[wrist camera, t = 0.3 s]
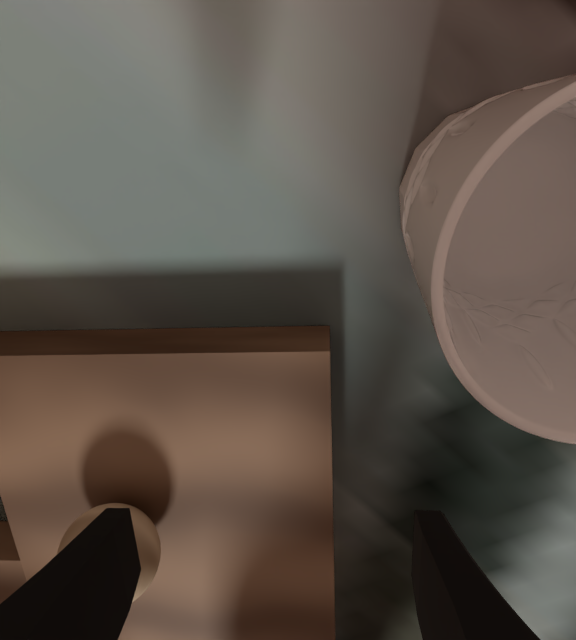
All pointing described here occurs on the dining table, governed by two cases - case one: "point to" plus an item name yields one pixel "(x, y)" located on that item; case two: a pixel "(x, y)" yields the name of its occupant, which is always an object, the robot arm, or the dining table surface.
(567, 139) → the white cup
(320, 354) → the board
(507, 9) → the dining table surface
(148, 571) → the ball
